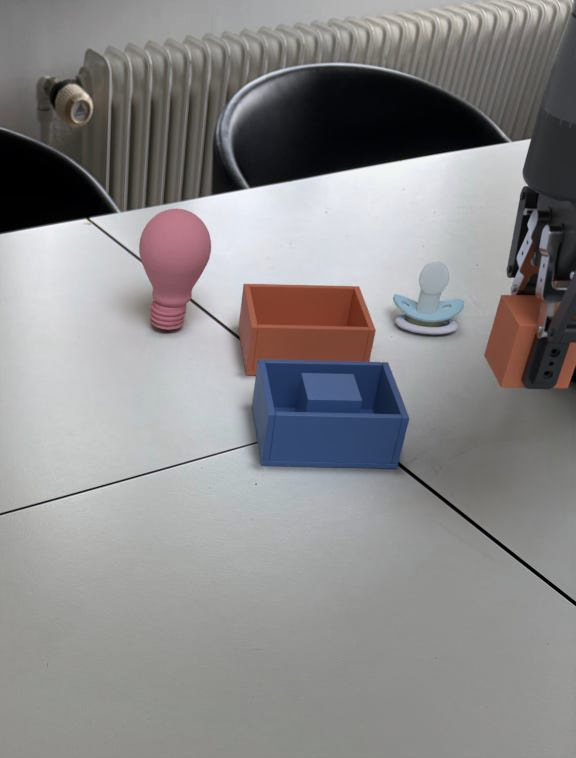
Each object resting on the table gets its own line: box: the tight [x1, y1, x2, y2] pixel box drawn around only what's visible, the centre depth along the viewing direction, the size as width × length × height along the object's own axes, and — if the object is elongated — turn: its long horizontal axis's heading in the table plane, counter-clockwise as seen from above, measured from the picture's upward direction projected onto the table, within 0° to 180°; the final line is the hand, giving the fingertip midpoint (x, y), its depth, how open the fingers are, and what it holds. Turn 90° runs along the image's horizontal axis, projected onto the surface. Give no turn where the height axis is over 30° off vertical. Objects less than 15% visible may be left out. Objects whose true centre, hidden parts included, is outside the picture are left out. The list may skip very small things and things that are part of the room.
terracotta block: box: [483, 294, 576, 389], centre depth 72 cm, size 5×5×5 cm
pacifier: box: [392, 261, 466, 336], centre depth 108 cm, size 7×6×6 cm
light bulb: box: [138, 208, 212, 331], centre depth 105 cm, size 7×7×12 cm
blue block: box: [295, 373, 362, 413], centre depth 91 cm, size 5×5×5 cm
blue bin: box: [251, 359, 410, 470], centre depth 91 cm, size 12×10×5 cm
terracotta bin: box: [237, 283, 377, 376], centre depth 103 cm, size 12×10×5 cm
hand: (526, 366), depth 73 cm, fingers closed on terracotta block, 4 cm apart
